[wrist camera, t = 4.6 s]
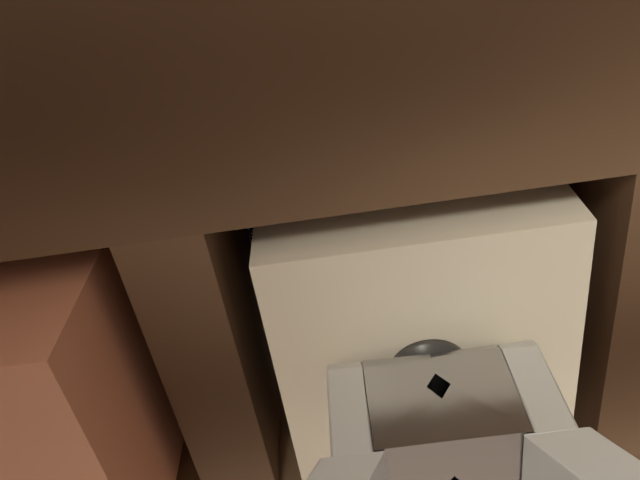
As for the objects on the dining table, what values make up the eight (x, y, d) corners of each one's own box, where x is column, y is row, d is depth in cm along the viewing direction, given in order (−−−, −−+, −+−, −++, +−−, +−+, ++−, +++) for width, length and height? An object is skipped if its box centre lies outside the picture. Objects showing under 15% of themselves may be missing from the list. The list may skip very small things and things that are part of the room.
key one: (260, 167, 11) (248, 271, 8) (523, 129, 10) (600, 224, 8) (301, 357, 13) (302, 486, 10) (515, 330, 13) (572, 455, 10)
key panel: (-889, -42, 8) (-1393, 5, 6) (661, -316, 7) (848, -400, 5) (-211, 570, 17) (-301, 698, 14) (566, 480, 16) (617, 601, 13)
